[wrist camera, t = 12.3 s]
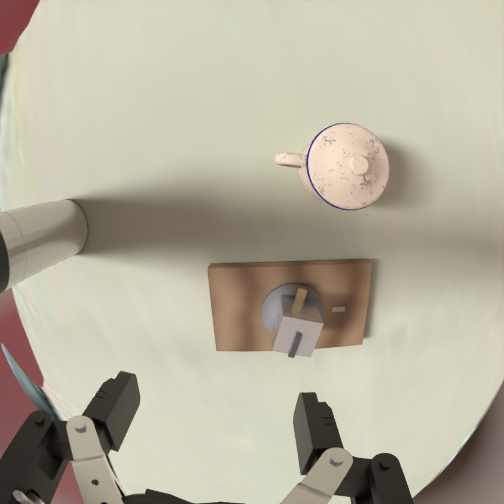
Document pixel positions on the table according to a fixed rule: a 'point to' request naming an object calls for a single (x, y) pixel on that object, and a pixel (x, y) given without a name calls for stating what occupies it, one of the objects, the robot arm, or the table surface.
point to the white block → (296, 325)
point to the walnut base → (285, 283)
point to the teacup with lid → (342, 166)
